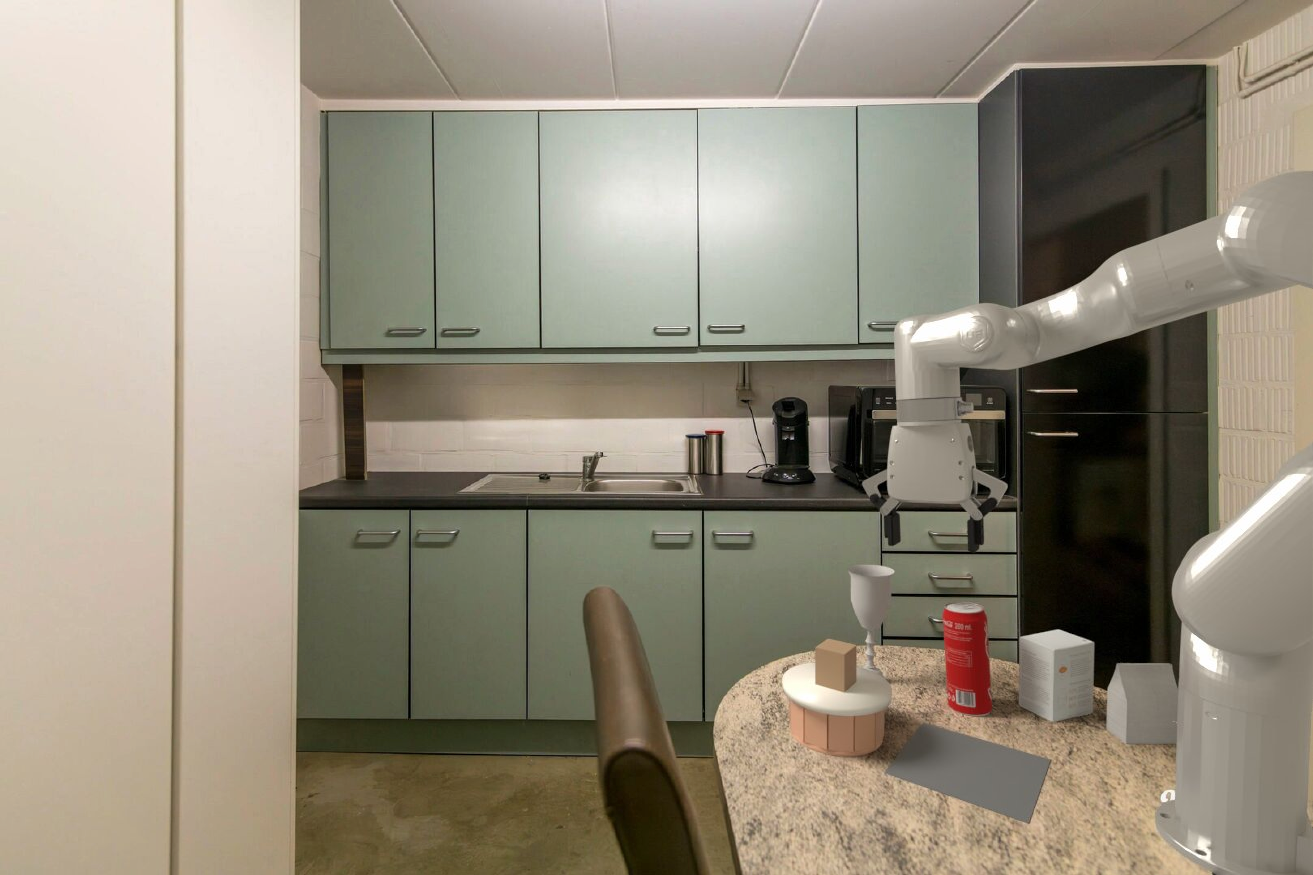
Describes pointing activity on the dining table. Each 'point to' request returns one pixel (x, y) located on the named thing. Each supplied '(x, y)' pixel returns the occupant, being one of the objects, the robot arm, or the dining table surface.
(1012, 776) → the mat
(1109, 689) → the white gabled block
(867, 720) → the bowl
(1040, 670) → the small box
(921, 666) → the dining table surface
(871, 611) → the chalice
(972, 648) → the beverage can
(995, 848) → the dining table surface
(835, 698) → the lid
